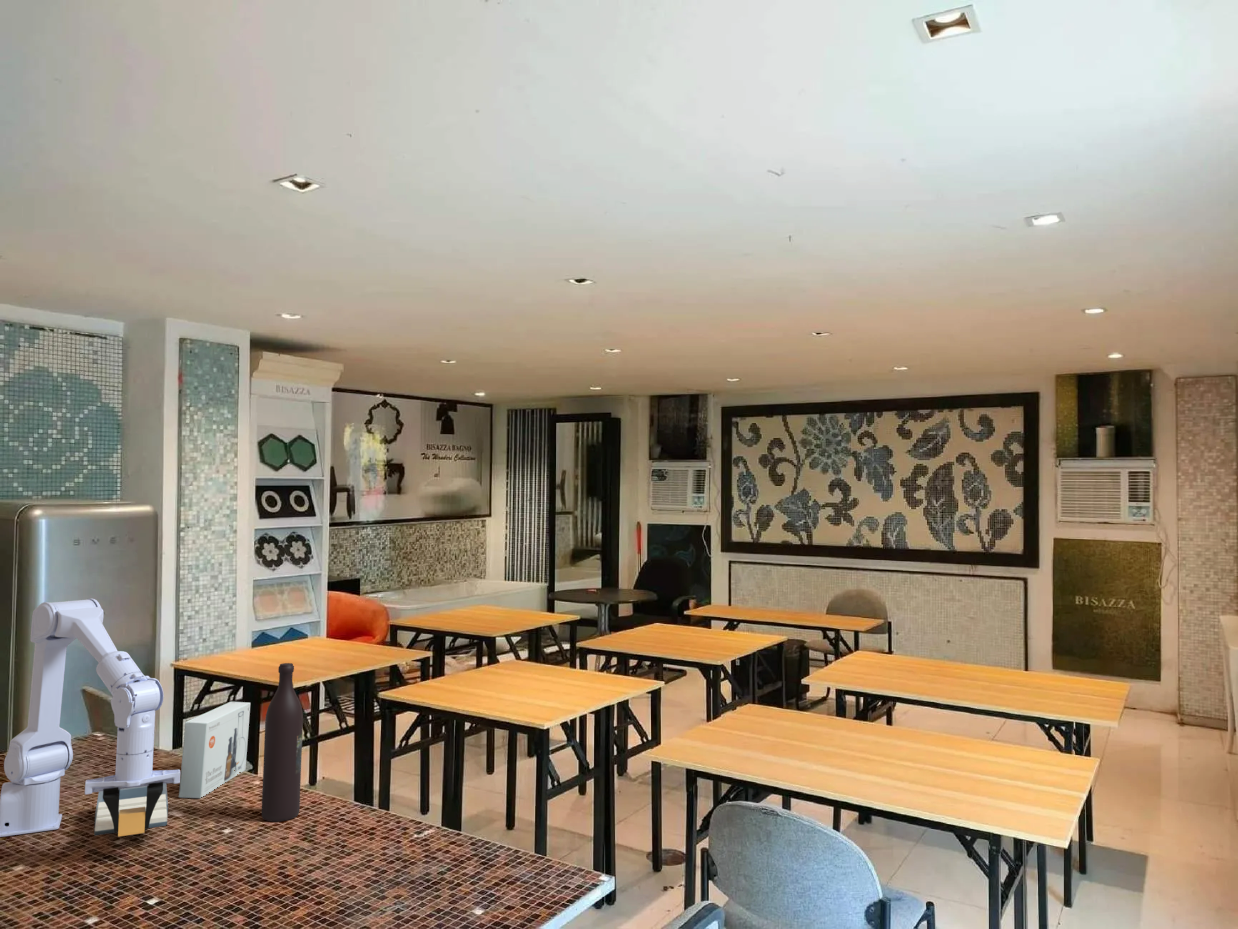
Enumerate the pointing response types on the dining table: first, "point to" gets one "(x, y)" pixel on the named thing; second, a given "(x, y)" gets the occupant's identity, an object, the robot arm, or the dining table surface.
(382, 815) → the dining table surface
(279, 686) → the wine bottle
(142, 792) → the tub
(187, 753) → the skincare box
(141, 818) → the lid
